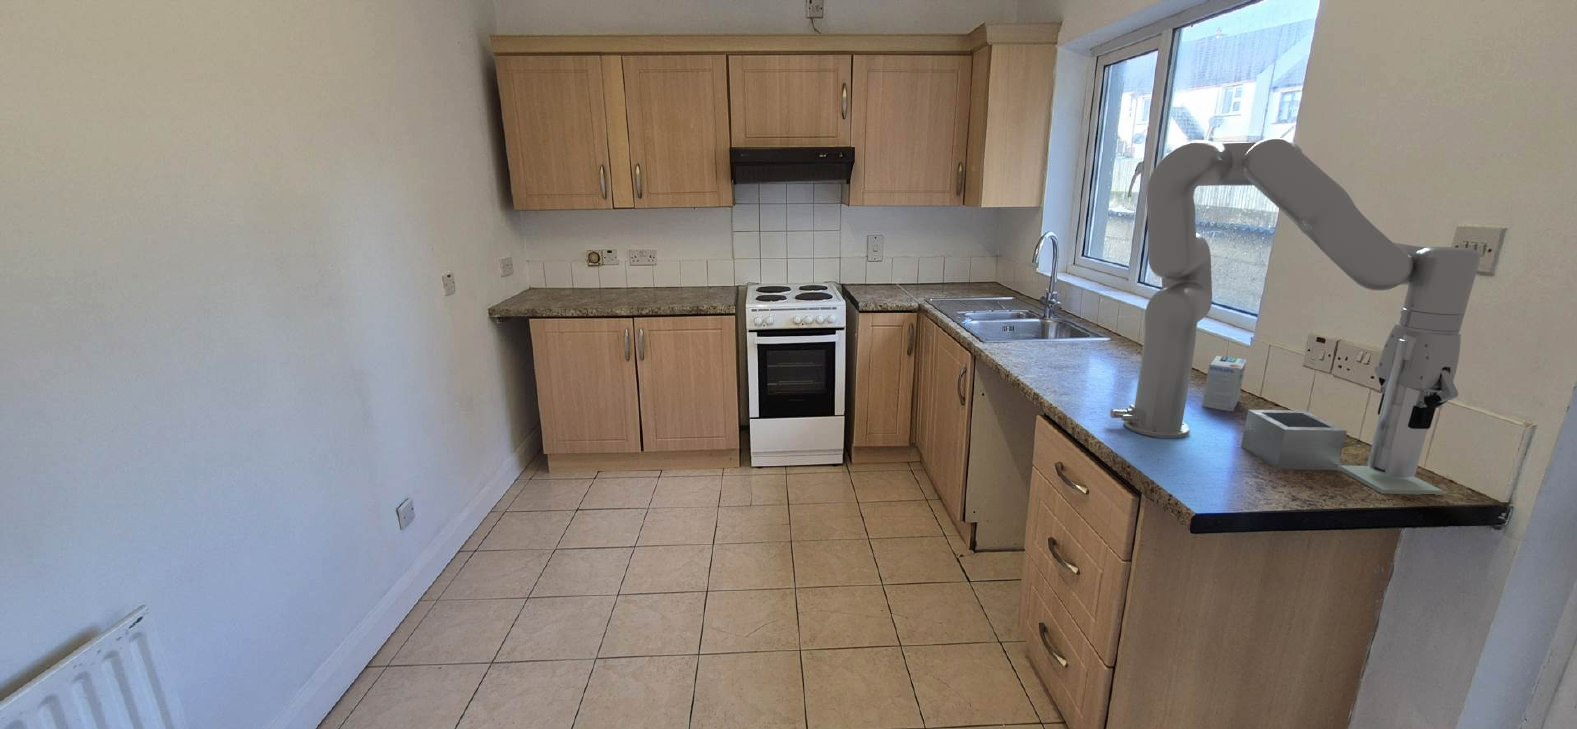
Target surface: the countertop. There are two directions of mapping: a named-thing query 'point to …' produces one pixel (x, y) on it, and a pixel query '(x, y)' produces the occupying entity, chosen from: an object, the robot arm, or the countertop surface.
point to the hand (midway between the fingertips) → (1402, 420)
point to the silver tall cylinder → (1397, 423)
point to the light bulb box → (1224, 383)
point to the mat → (1389, 481)
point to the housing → (1293, 439)
